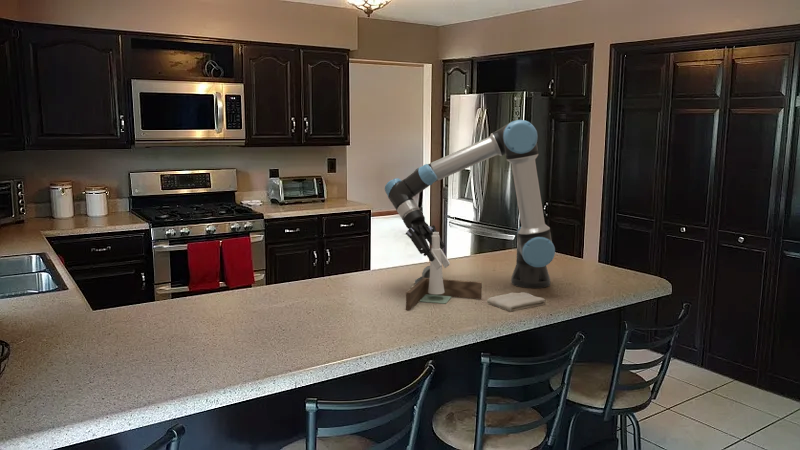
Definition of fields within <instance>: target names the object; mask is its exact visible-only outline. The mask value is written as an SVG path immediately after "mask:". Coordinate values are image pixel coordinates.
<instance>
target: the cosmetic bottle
mask: <svg viewBox="0 0 800 450" xmlns="http://www.w3.org/2000/svg"><path fill="white" fill-rule="evenodd" d="M440 238H441V237H440V232H439V231H437V232H433V235H432V246H431V247H430V252H431V251H432V250H433V251H434V253H435V255H436V256H437V258H438V259H439V261H440V263H441V264H442V257H441V248H440ZM429 263H430V264H429V266H430V279H429V288H428V293H429V294H434V295H439V294H443V293H444V292H445V291H444V285H443V279H444V278H443V277H444V276H443V264H442V266H441V267H440V268H439V269H438V270H436V268H435V267H434V265H433V263H432V262H431V261H430V260H429Z"/></svg>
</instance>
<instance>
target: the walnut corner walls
mask: <svg viewBox="0 0 800 450" xmlns="http://www.w3.org/2000/svg"><path fill="white" fill-rule="evenodd" d="M429 279H430V278H422V279H421V280H420V281H419V282H418V283H417V284H415V283H414V285H413V286H412V287H411V288H410V289H408V290H407V291H406V292H405V310H406V311H411V310H412V309H413V308H414V307H415V306H416V305H417V304H418V303H420V302H419V301H420V300H421V299H422V298H423V297H424V296H425V295H426V294H429V293H428V288H429ZM443 285H444V291H445V292H444V293H443V294H439V295H442V296H452V297H451V298H463V299H473V300H475V299H476V300H482V298H483V297H482V295H483V294H482V293H483V281H474V280H458V279H444V278H443ZM430 295H434V294H430Z"/></svg>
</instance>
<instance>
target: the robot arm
mask: <svg viewBox="0 0 800 450" xmlns="http://www.w3.org/2000/svg"><path fill="white" fill-rule="evenodd" d="M537 142H538V131H537V129H536V127H535V126H534V125H533V124H532V123H531V122H530V121H528V120H524V119H517V120H512V121H510V122H508V123H506V124H505V125H504V126H502V127H501V128H499V129H498V130H496V131H493V132H492V133H490V135H489V136H488V137H486V138H484V139H482V140H479V141H477V142H474V143H472V144H470V145H468V146H465V147H464V148H461V149H458V150H457V151H455V152H451V153H450V154H448V155H446V156H444V157H441V158H439V159H437V160H434V161H432V162H430V163H425V164H424V165H421V166H420V167H418V168H416V169H414V171H413V172H412V173H410V174H409V175H408V176H406V178H404V179H401V178H398V177H397V178H393V179H390V180H389V181H388V182H387V183H386V184H385V185H384V192H385V193H386V196H387V197H388V199H389V201H390V202H391V204H392V206H393V207H394V209H395V210H396V212H397V214H398V215H399V216H400V217H399V218H401V220H402V221H403V224H404V225H405V226H406V228H407V229H408V230H407V231H406V232H405V235H406V236H408V238H409V239H410V240H411V242H412V243H413V245H414V247H416V249H417V251H418V252H419V254H421V255H422V256H424V257H426V256H427V258H428V260H429V262H430V261H431V262H432V263H433V265H434V267H435V268H436V270H438V269H439V268H440V267H441V266H442V267H443V268H444V269H447V268H448V267H449V266H450V265H451V262H450V261H449V259H448V257H447V255H446V253H445V251H444V250H443V249H444V248H445V246H446V245H445V243H444V241H443V240H442V238H441V237H440V248H441V257H442V264H441V263H440V261H439V259H438V258H437V256H436V255H435V253H434V251H433V250H432V251H431V247H432V235H433V232H438V231H437V229H436V226H435V225H434V224H433V225H431V226H430V225H429V224H428V223H427V222H426V217H425V216H424V213H423V212H422V210H420V207H419V206H418V204H417V202H416V201H415V200H414V197H416V196H417V195H418V194H420V193H422V192H423V191H424V190H426V189H427V188H428V187H430V186H432V185H433V184H434V183H436V182H438V181H440V180H443V179H444V178H447V177H450V176H451V175H455V174H457V173H459V172H461V171H463V170H466V169H468V168H470V167H472V166H476V165H477V164H479V163H482V162H484V161H486V160H488V159H491V158H493V157H496V156H500V157H502V156H505V159H506V161H507V162H508V163H510V164H511V170H512V176H513V182H514V188H515V194H516V201H517V207H518V208H517V209H518V214H519V220H520V226H519V227H518V228H517V232H516V259H515V260H516V262H515V267H514V270H513V272H512V275H511V279H510V281H511V282H510V283H511V285H513V286H516V287H520V288H527V289H541V288H543V289H544V288H548V287H550V285H551V278H550V275H549V271H548V268H547V266H548V265H549V264H550V263H552V261H553V260H554V257H555V255H556V247H555V245H554V243H553V241H552V233H551V227H550V226H548V225H547V224H546V222H545V217H544V216H545V215H544V210H543V204H542V203H543V202H542V197H541V190H540V183H539V177H538V171H537V164H536V159H537V158H538V156H539V150H538V143H537ZM429 244H430V245H431V247H430V246H429Z"/></svg>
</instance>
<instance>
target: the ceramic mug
mask: <svg viewBox="0 0 800 450" xmlns="http://www.w3.org/2000/svg"><path fill="white" fill-rule="evenodd" d="M422 278H430V265H427V266H426V267H424V268H423V269H422V273H421V276H419V277H417V278H416V279H415V280H414V281H413V282H414V285H415V284H417V283H418V282H419V281H420V280H421V279H422Z"/></svg>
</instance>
